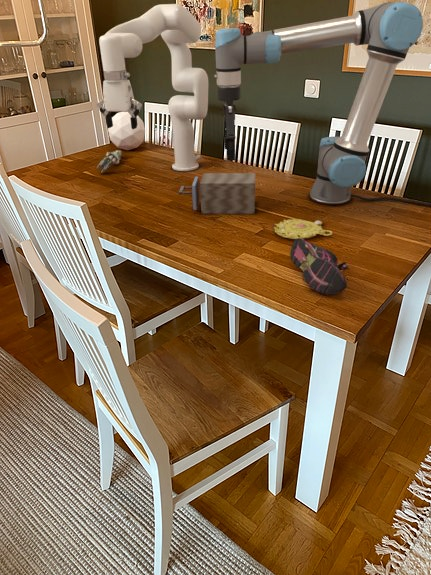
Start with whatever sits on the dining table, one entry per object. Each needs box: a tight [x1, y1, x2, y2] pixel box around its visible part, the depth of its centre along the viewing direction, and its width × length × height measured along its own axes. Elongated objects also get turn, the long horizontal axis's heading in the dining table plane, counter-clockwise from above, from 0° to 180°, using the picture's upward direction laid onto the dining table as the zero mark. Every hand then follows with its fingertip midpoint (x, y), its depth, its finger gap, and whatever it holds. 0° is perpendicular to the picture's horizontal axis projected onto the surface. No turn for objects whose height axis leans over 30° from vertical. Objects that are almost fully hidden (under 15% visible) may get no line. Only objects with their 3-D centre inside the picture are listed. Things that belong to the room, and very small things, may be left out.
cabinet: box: [199, 172, 256, 215], centre depth 163 cm, size 20×11×11 cm, turn 86°
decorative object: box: [273, 218, 333, 240], centre depth 145 cm, size 21×2×20 cm
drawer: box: [178, 176, 201, 211], centre depth 164 cm, size 24×10×9 cm, turn 86°
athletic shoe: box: [289, 238, 350, 295], centre depth 119 cm, size 11×22×12 cm
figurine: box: [96, 150, 123, 174], centre depth 213 cm, size 7×8×30 cm
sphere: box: [107, 112, 146, 151], centre depth 234 cm, size 19×20×20 cm
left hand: (122, 127), depth 161 cm, fingers open, 9 cm apart
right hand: (229, 154), depth 149 cm, fingers open, 13 cm apart
